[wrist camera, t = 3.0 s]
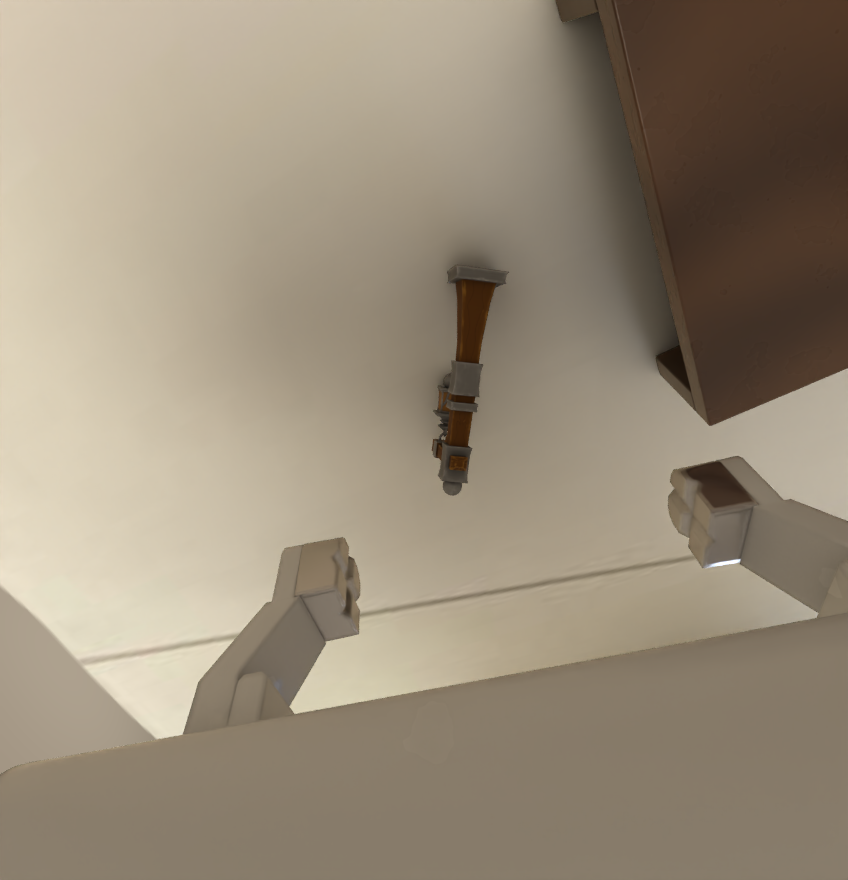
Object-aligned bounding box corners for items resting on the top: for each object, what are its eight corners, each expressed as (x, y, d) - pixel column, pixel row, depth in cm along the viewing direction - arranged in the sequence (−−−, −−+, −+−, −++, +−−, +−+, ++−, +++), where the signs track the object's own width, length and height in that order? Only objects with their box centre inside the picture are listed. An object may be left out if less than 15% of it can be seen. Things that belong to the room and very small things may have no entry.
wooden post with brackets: (415, 468, 22) (430, 500, 18) (435, 279, 21) (457, 263, 16) (456, 471, 23) (480, 503, 18) (478, 285, 21) (511, 270, 17)
